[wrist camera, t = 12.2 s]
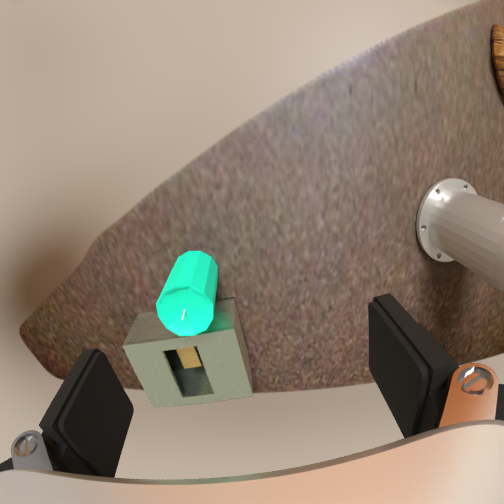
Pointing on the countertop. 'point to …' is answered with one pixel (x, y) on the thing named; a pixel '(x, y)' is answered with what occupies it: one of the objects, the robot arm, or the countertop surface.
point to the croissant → (498, 54)
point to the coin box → (197, 378)
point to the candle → (189, 294)
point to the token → (190, 357)
